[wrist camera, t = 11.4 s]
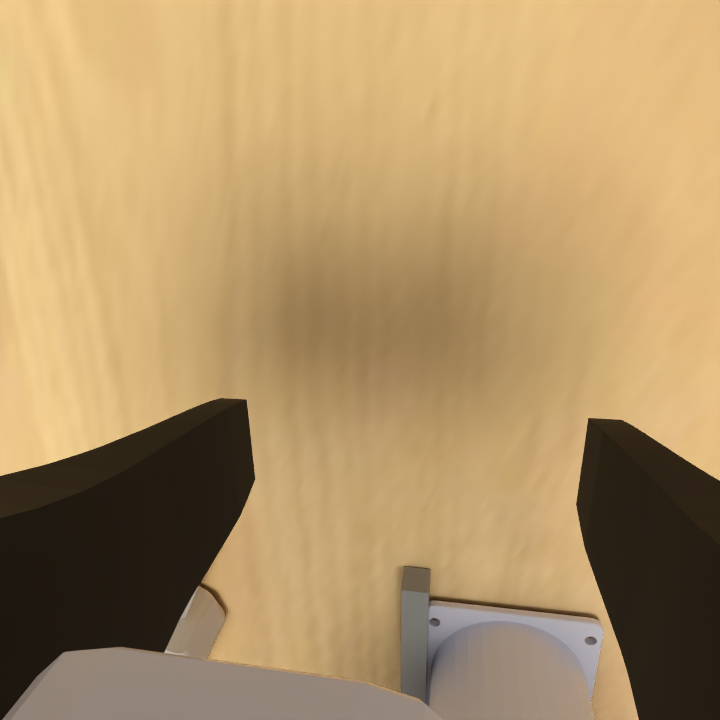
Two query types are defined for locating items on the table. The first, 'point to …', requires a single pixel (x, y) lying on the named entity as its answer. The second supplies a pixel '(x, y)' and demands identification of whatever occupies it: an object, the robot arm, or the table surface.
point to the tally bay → (414, 631)
